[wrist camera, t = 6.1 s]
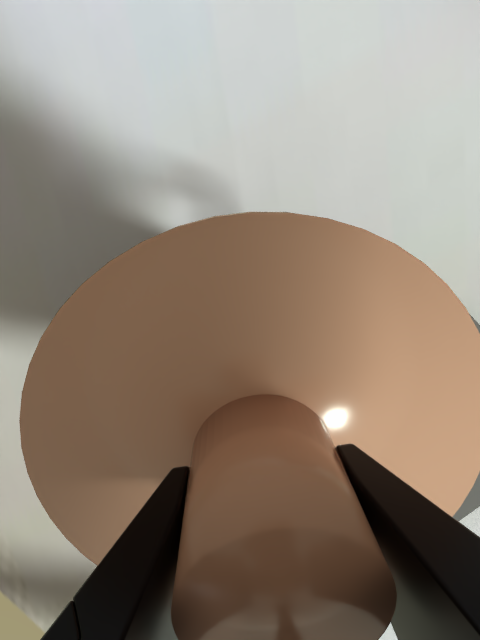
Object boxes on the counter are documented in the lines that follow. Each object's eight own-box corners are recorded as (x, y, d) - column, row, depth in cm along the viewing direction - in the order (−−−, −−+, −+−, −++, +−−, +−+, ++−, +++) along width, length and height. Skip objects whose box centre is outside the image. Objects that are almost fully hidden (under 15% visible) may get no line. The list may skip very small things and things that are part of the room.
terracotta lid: (268, 638, 12) (289, 848, 8) (-54, 462, 9) (-262, 657, 5) (562, 418, 10) (798, 570, 6) (244, 78, 7) (270, -104, 3)
